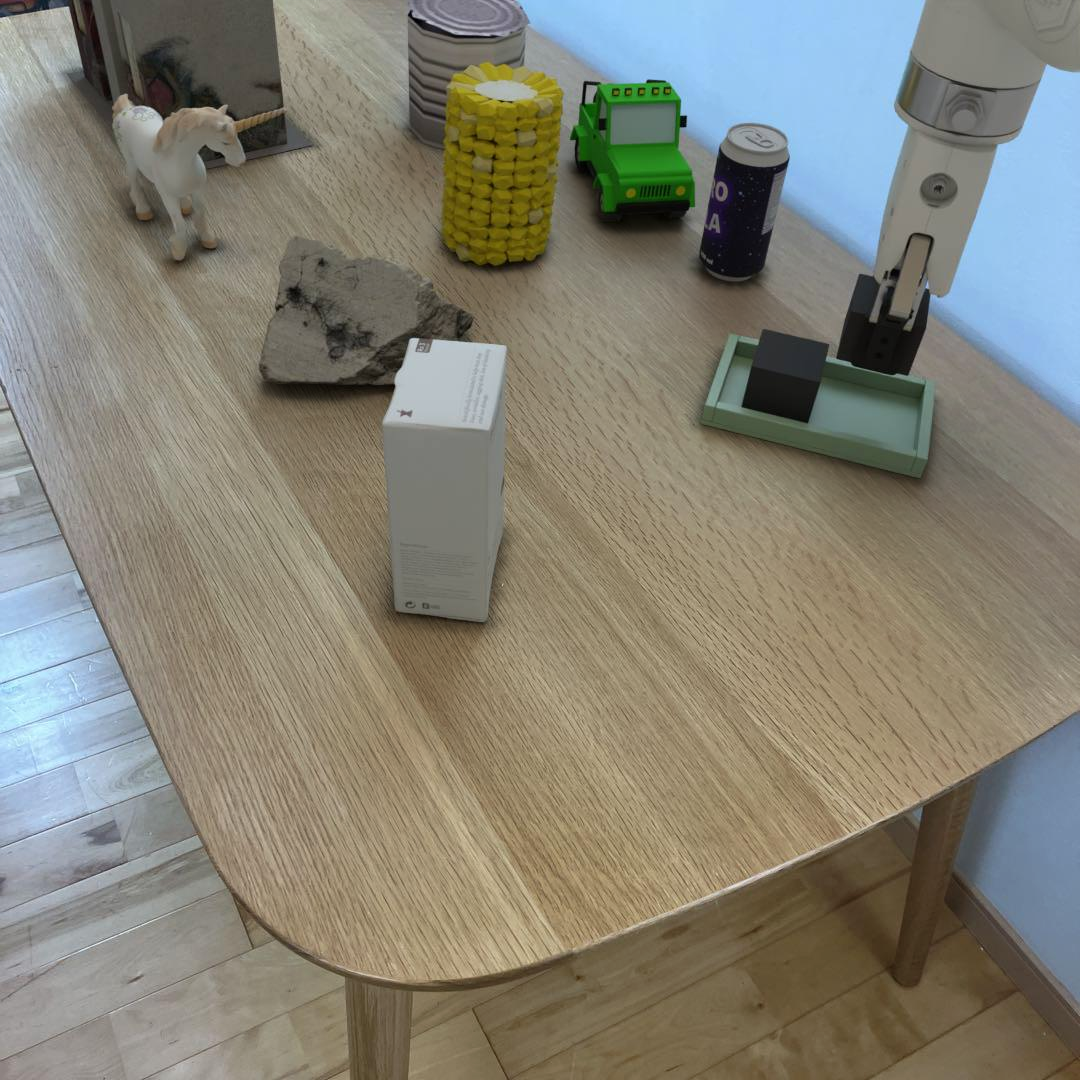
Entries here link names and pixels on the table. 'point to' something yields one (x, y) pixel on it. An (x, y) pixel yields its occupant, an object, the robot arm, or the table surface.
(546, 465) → the table surface
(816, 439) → the tray
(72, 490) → the table surface
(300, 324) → the stone
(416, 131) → the can
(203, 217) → the unicorn figurine
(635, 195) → the toy car
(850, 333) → the black cube
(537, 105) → the food
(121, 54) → the bookend
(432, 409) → the cosmetic box
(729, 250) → the beverage can
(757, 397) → the black block
